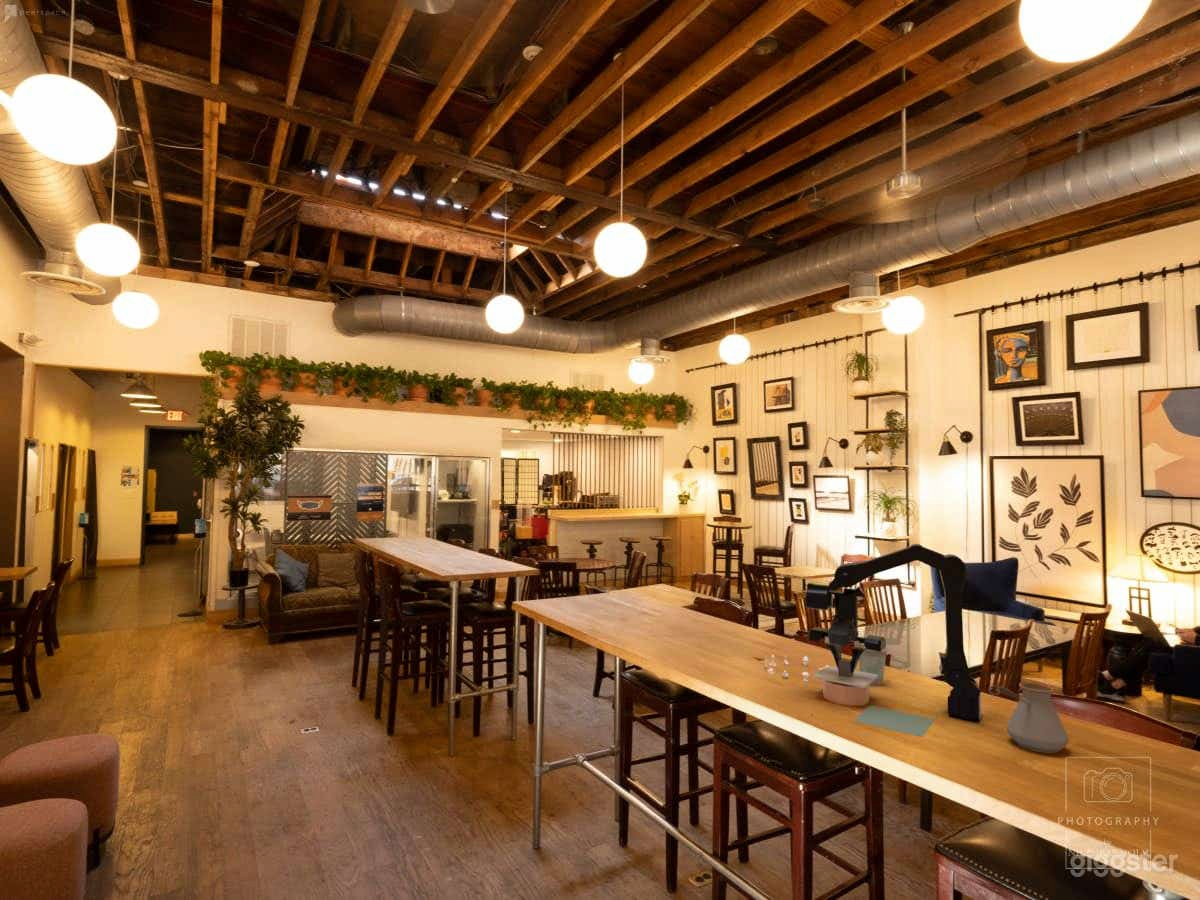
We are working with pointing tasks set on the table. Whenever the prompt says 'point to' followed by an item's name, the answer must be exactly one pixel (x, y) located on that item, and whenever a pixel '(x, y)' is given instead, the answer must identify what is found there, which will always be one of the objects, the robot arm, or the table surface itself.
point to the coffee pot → (1035, 719)
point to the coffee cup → (873, 664)
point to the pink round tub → (845, 693)
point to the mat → (895, 721)
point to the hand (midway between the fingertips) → (846, 671)
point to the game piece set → (805, 662)
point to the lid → (846, 675)
